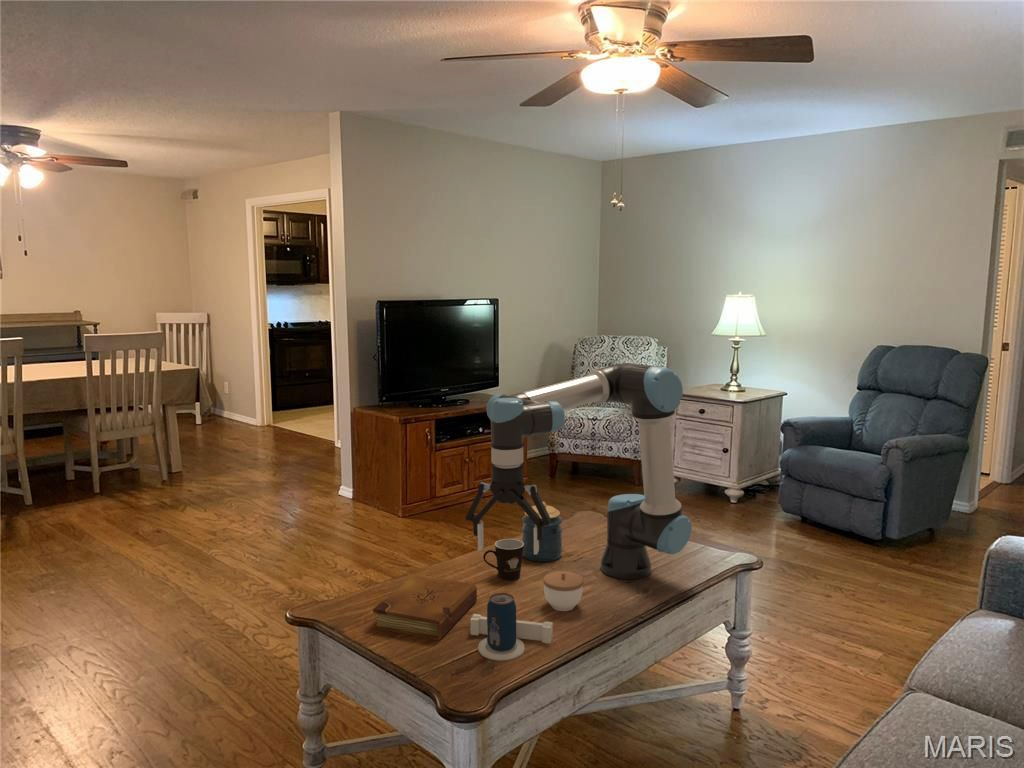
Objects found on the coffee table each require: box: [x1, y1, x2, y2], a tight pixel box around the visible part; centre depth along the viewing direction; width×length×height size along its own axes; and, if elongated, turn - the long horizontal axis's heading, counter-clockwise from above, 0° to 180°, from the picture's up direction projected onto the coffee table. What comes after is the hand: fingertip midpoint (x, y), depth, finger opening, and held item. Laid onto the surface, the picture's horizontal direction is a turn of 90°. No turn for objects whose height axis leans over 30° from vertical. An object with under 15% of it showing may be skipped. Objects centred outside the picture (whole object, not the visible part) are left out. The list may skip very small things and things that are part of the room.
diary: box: [372, 574, 478, 641], centre depth 188 cm, size 23×19×6 cm
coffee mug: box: [482, 538, 524, 581], centre depth 213 cm, size 12×9×10 cm
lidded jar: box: [543, 570, 584, 612], centre depth 193 cm, size 11×11×9 cm
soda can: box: [486, 592, 517, 652], centre depth 170 cm, size 7×7×12 cm
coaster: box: [477, 637, 525, 662], centre depth 171 cm, size 11×11×1 cm
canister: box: [521, 501, 564, 563], centre depth 229 cm, size 13×13×18 cm
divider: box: [470, 613, 554, 645], centre depth 176 cm, size 20×3×4 cm, turn 78°
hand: (508, 550), depth 172 cm, fingers open, 13 cm apart
